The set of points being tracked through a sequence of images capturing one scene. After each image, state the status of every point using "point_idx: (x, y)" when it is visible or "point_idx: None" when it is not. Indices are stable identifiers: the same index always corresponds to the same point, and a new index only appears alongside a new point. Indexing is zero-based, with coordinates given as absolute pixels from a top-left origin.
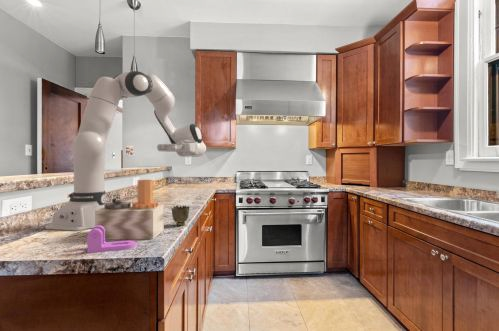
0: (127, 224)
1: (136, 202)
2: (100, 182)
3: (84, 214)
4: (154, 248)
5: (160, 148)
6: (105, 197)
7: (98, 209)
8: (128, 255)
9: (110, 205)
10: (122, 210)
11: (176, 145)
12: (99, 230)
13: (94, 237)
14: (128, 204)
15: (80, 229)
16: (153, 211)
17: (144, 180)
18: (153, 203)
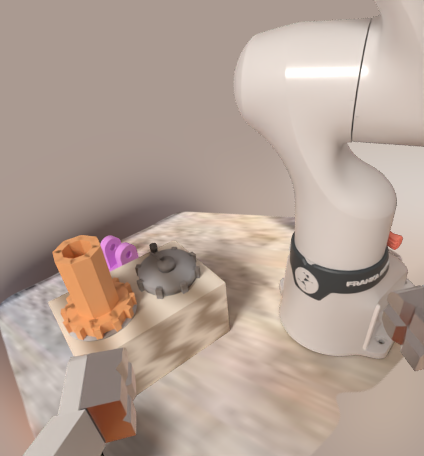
0: None
1: (126, 292)
2: (302, 228)
3: (286, 269)
4: (30, 320)
5: (400, 338)
6: (316, 284)
7: (180, 245)
8: (53, 284)
9: (158, 251)
10: (121, 266)
11: (65, 391)
12: (102, 243)
13: (112, 248)
14: (140, 281)
15: (279, 287)
16: (49, 305)
17: (66, 242)
18: (66, 310)
